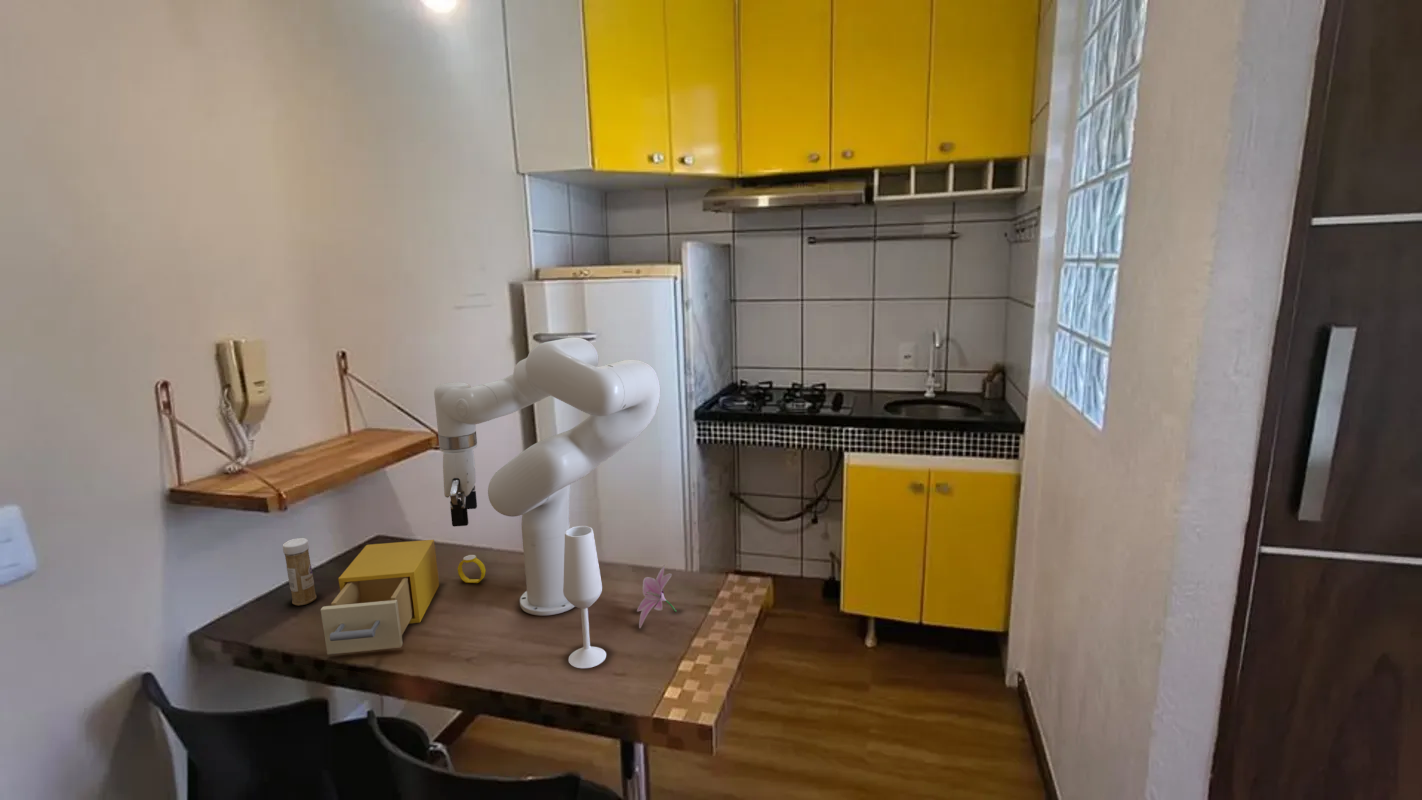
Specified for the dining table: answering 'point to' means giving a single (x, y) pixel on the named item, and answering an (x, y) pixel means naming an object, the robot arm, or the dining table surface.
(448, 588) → the dining table surface
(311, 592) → the sprinkles bottle
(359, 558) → the cabinet
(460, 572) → the watch
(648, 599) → the lily
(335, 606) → the drawer
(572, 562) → the champagne flute
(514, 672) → the dining table surface
